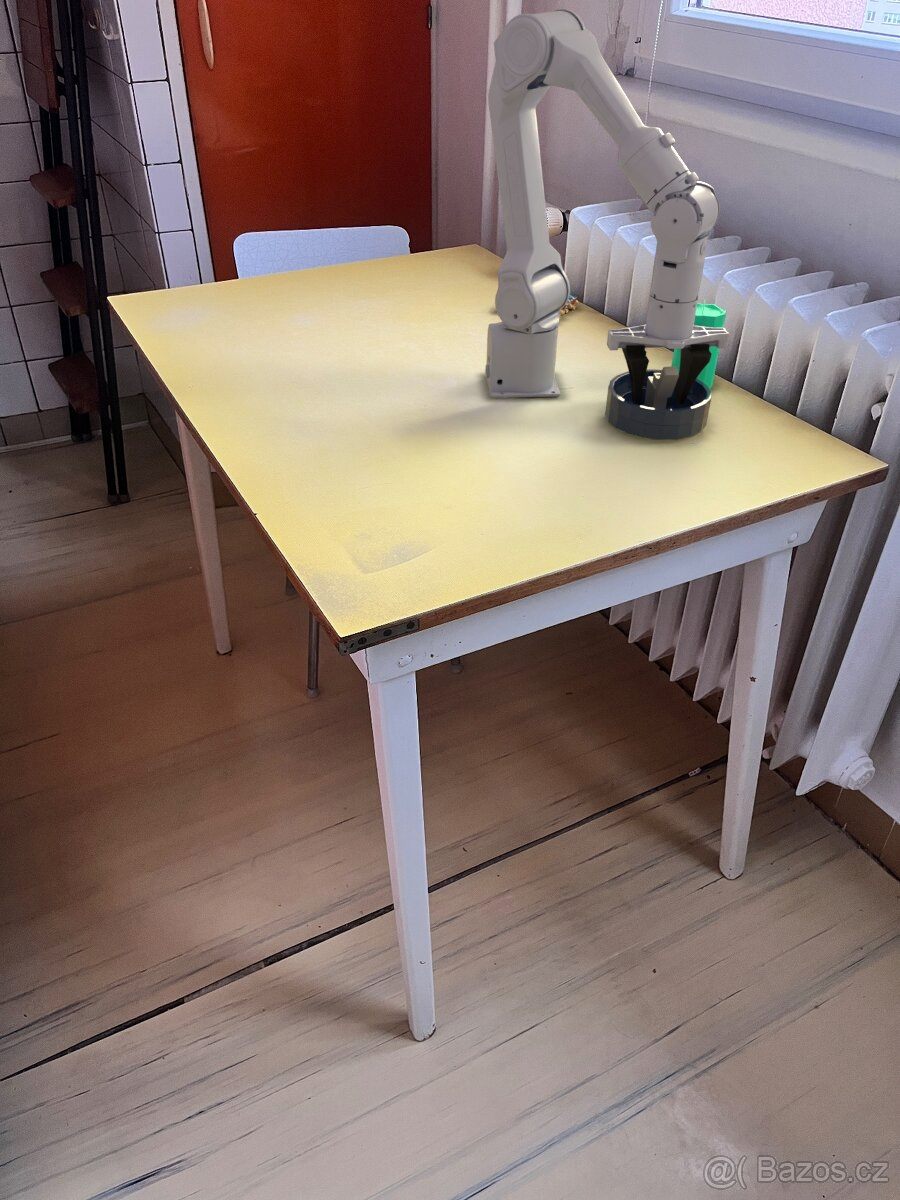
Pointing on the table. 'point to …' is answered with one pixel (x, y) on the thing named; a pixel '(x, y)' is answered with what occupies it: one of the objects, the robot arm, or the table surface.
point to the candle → (709, 318)
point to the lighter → (660, 387)
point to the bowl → (657, 410)
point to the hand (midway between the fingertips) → (657, 401)
